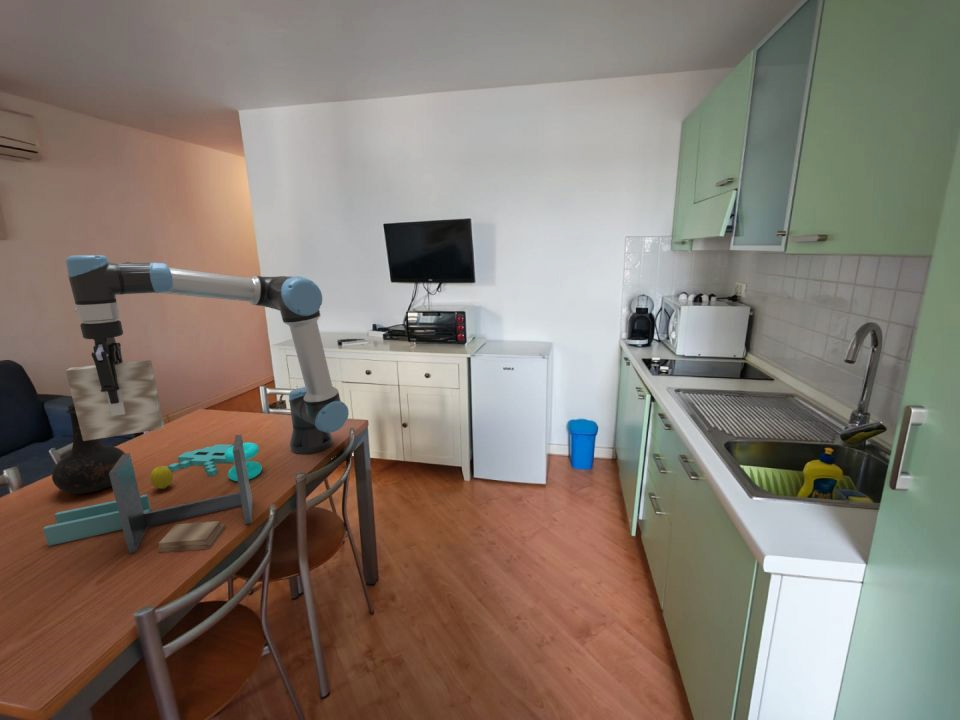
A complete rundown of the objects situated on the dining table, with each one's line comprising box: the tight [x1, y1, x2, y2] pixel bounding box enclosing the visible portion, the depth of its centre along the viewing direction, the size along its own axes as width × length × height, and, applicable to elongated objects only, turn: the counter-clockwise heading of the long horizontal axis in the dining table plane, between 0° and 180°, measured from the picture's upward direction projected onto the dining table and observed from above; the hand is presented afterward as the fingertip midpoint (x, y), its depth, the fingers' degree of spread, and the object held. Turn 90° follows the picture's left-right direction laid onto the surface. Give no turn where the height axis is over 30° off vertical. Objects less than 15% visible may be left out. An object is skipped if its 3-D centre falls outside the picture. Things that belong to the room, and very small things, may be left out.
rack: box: [109, 434, 254, 554], centre depth 114 cm, size 27×12×22 cm, turn 116°
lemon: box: [149, 465, 173, 490], centre depth 135 cm, size 6×6×8 cm
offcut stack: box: [157, 520, 227, 553], centre depth 111 cm, size 12×8×3 cm
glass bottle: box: [51, 403, 126, 495], centre depth 134 cm, size 18×18×28 cm
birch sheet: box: [65, 359, 165, 441], centre depth 109 cm, size 16×3×18 cm, turn 117°
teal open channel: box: [42, 493, 152, 547], centre depth 117 cm, size 20×8×5 cm, turn 116°
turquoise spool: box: [225, 442, 263, 482], centre depth 142 cm, size 10×10×10 cm
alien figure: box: [164, 443, 234, 477], centre depth 154 cm, size 20×2×20 cm
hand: (120, 412), depth 109 cm, fingers closed on birch sheet, 3 cm apart
